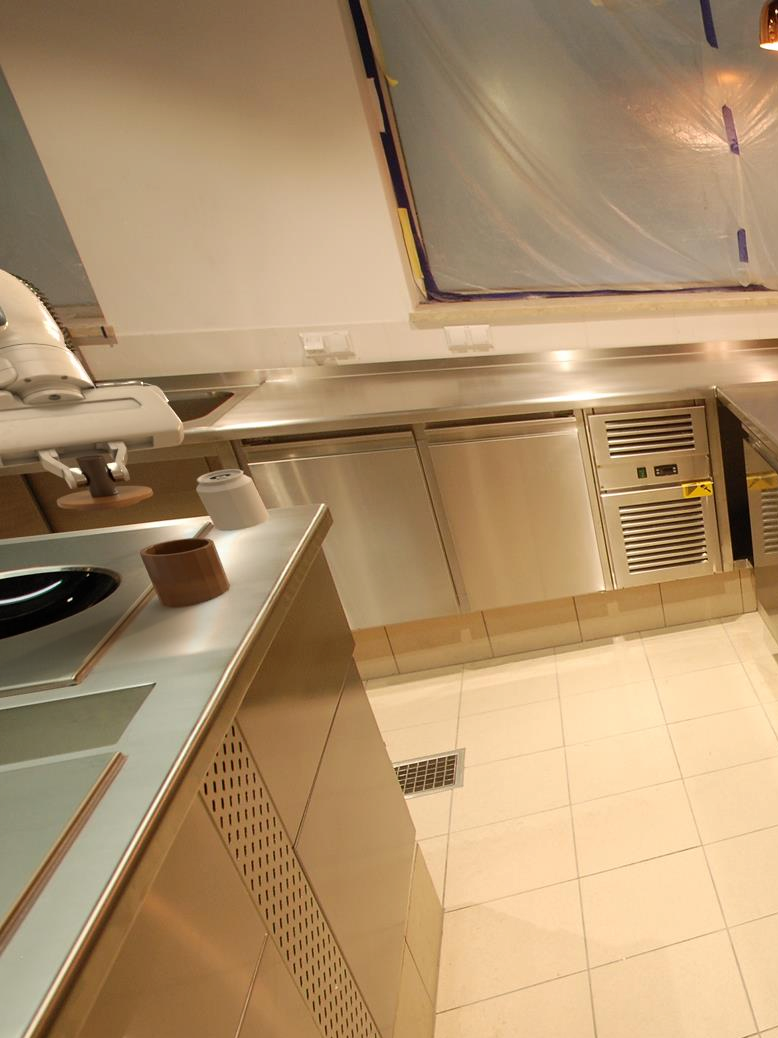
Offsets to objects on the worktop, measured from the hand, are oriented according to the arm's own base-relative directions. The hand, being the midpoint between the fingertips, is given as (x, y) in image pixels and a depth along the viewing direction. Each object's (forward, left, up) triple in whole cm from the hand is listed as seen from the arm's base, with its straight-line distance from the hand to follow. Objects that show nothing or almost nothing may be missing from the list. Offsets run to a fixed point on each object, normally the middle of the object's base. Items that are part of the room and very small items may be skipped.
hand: (100, 482), depth 100 cm
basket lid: (0, +1, -2) cm, 2 cm away
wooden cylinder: (+7, +14, -21) cm, 27 cm away
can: (+21, +40, -21) cm, 50 cm away
